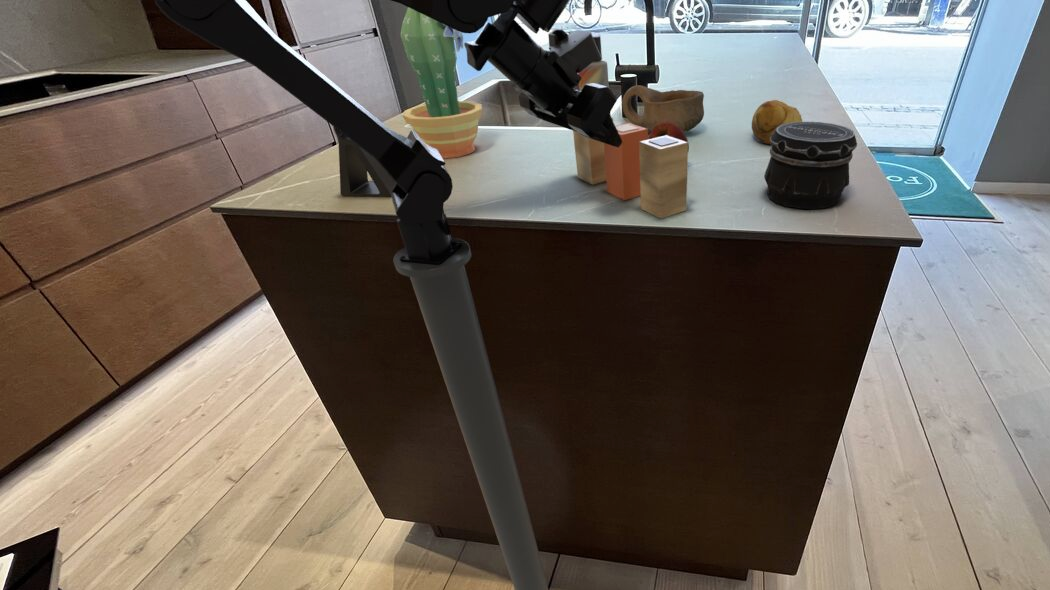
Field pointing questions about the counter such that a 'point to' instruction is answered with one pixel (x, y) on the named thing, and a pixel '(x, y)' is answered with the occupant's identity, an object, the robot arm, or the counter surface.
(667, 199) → the maple block front
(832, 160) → the container
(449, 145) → the potted cactus
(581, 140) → the maple block back
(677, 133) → the apple
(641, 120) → the bowl
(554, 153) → the counter surface
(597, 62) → the lotion bottle
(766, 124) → the bread roll
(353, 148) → the phone stand
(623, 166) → the terracotta block
